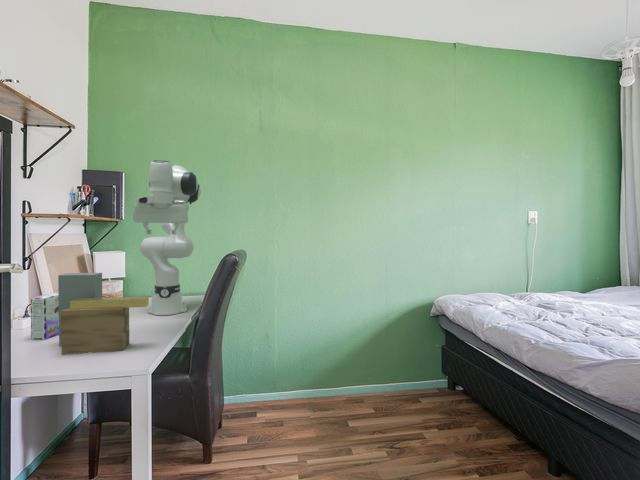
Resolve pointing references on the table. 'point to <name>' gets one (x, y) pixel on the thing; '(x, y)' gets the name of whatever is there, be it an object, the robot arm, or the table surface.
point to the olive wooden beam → (109, 302)
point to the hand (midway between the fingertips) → (161, 234)
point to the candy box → (45, 316)
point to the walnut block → (94, 330)
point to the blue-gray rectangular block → (77, 289)
